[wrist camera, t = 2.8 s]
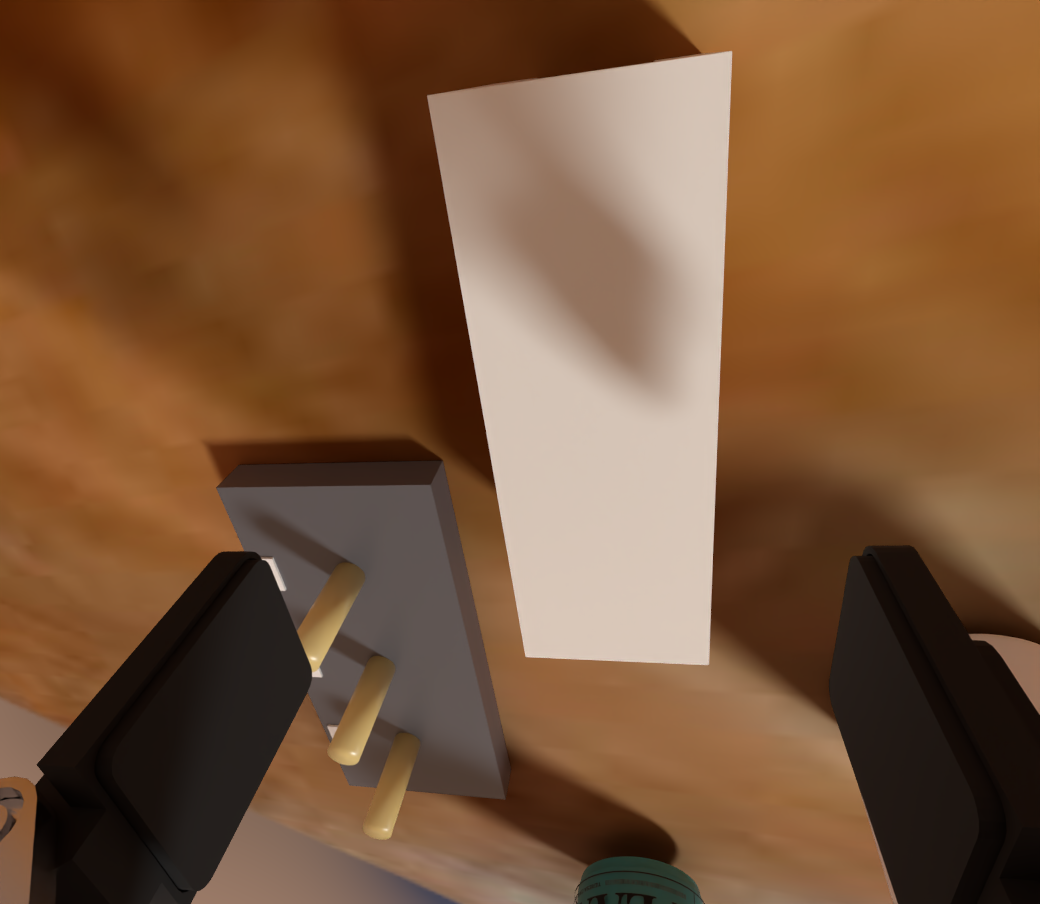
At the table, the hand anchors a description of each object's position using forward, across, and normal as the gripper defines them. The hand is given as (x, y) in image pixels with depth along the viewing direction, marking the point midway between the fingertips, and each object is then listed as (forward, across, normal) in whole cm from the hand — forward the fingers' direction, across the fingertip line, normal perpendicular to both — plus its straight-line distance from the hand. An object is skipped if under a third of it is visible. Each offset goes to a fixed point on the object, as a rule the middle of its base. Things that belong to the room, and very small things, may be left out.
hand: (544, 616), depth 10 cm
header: (+11, +9, +12) cm, 19 cm away
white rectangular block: (+11, -1, -1) cm, 11 cm away
